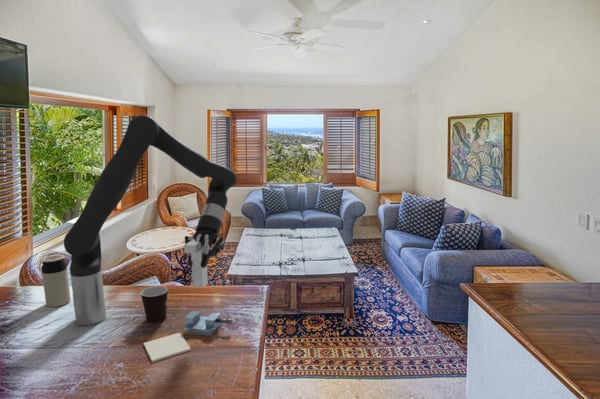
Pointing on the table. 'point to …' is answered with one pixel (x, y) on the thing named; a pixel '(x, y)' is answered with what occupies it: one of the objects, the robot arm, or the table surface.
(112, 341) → the table surface
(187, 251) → the brushed aluminum pillar
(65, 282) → the travel mug
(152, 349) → the felt pad
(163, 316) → the coffee mug
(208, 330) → the vise
